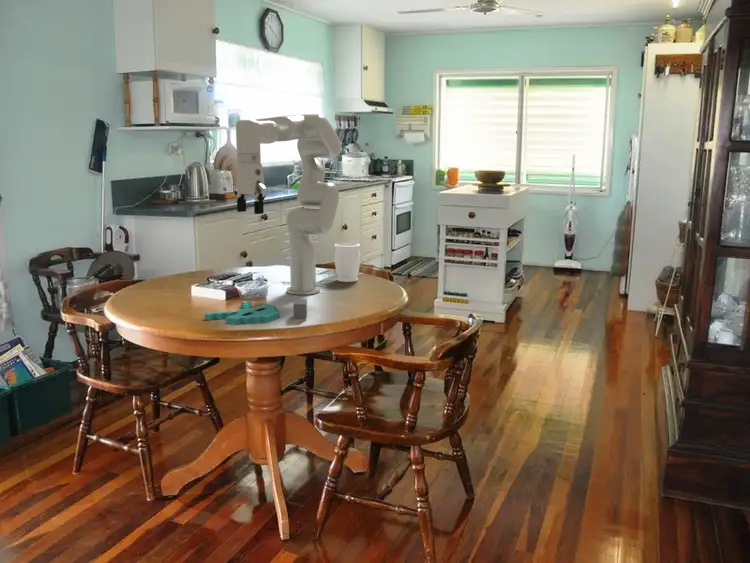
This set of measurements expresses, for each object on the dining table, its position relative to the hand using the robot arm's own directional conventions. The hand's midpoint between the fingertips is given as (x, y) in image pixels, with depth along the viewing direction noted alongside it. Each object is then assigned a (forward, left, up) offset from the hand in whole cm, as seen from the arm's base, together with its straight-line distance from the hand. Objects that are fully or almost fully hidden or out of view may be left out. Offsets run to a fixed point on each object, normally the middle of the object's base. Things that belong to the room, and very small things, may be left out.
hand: (250, 212), depth 222 cm
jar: (-49, +32, -34) cm, 68 cm away
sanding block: (+9, +16, -34) cm, 38 cm away
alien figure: (+6, -1, -34) cm, 35 cm away
